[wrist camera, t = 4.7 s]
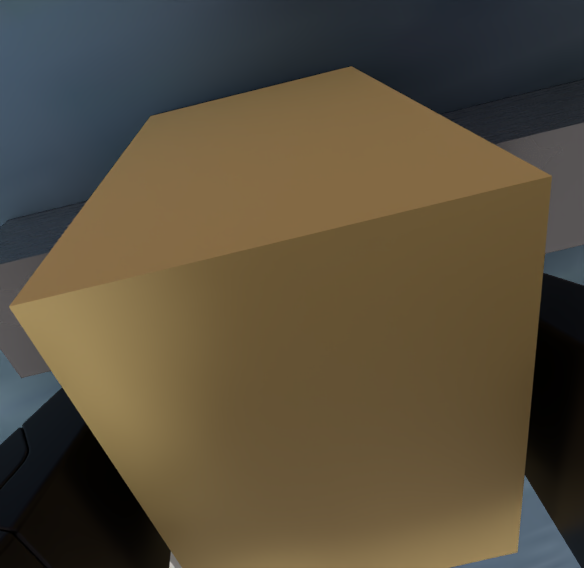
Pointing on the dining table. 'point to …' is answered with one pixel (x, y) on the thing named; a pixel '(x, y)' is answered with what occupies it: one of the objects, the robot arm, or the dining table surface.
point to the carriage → (306, 328)
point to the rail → (478, 119)
